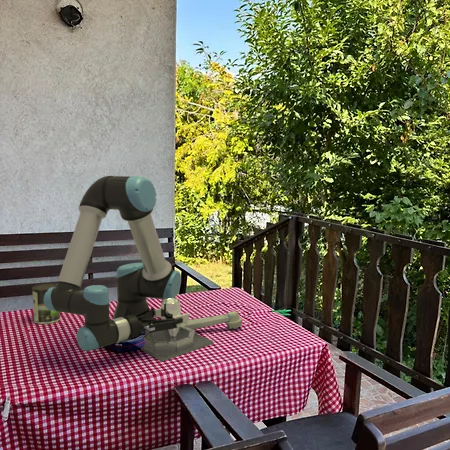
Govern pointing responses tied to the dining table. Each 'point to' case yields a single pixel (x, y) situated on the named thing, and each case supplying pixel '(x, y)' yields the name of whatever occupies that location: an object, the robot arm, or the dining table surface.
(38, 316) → the coffee can
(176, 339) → the chrome metal cup
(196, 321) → the beige knobbed rod
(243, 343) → the dining table surface
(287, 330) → the dining table surface
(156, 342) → the collar
